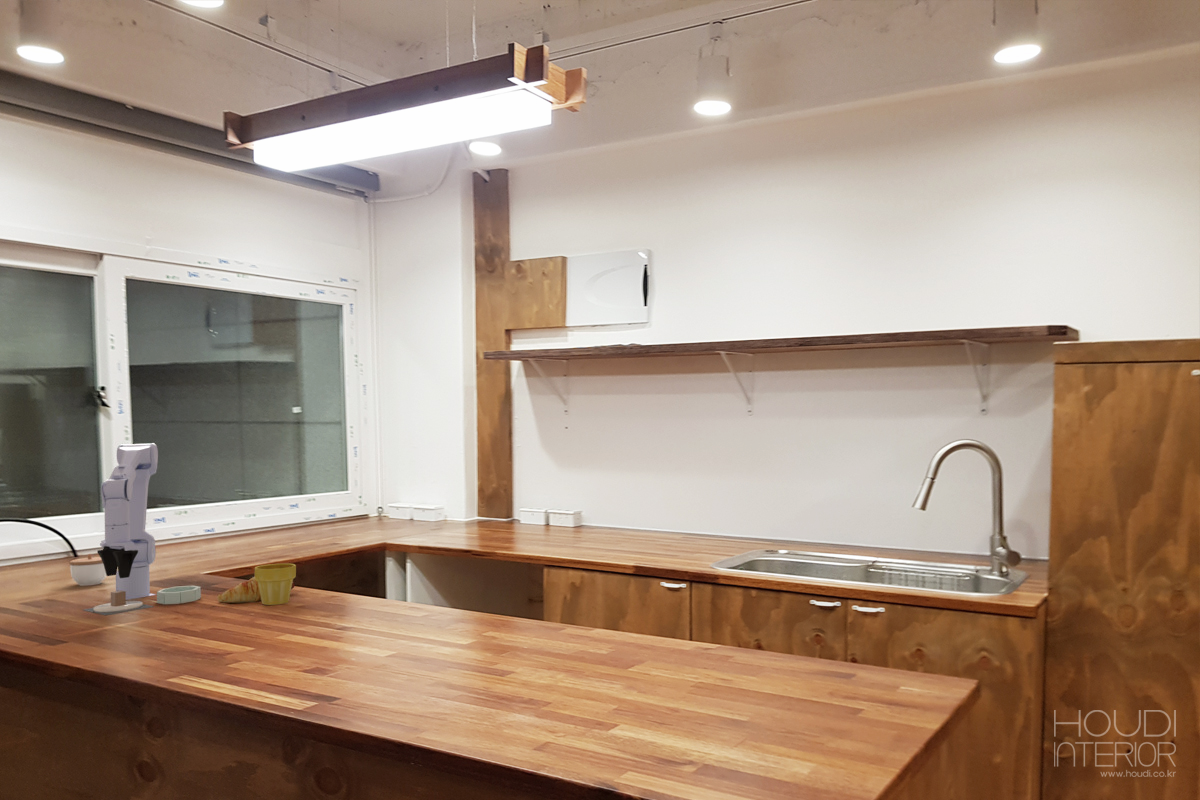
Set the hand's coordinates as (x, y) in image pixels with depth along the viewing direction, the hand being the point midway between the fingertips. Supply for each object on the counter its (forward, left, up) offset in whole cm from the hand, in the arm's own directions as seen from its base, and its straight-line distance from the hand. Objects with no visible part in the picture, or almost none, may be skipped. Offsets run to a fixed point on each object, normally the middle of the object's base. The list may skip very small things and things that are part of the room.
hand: (117, 576), depth 224 cm
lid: (0, 0, -8) cm, 8 cm away
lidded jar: (-55, +15, -9) cm, 58 cm away
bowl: (+4, +14, -9) cm, 17 cm away
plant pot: (+30, +27, -9) cm, 41 cm away
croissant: (+19, +28, -9) cm, 35 cm away
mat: (0, 0, -9) cm, 9 cm away
